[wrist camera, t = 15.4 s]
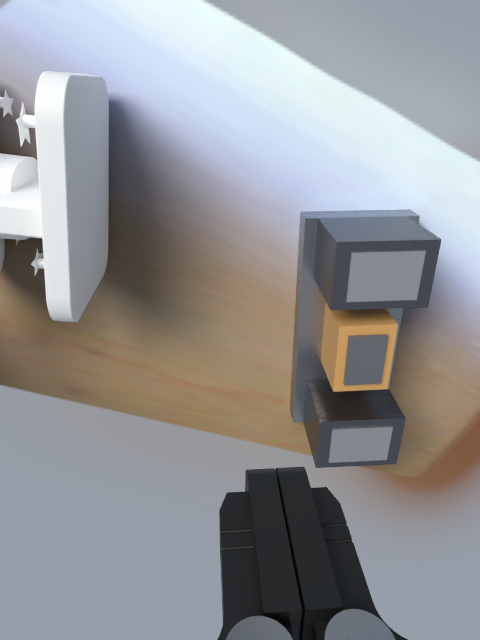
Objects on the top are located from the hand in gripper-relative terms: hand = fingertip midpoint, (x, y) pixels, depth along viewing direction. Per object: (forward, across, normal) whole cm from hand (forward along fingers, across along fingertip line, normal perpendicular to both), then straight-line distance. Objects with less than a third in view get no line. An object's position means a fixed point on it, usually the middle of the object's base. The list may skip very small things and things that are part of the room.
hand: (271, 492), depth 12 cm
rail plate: (+28, -11, +10) cm, 32 cm away
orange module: (+26, -11, +10) cm, 30 cm away
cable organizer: (+29, +14, -3) cm, 32 cm away
